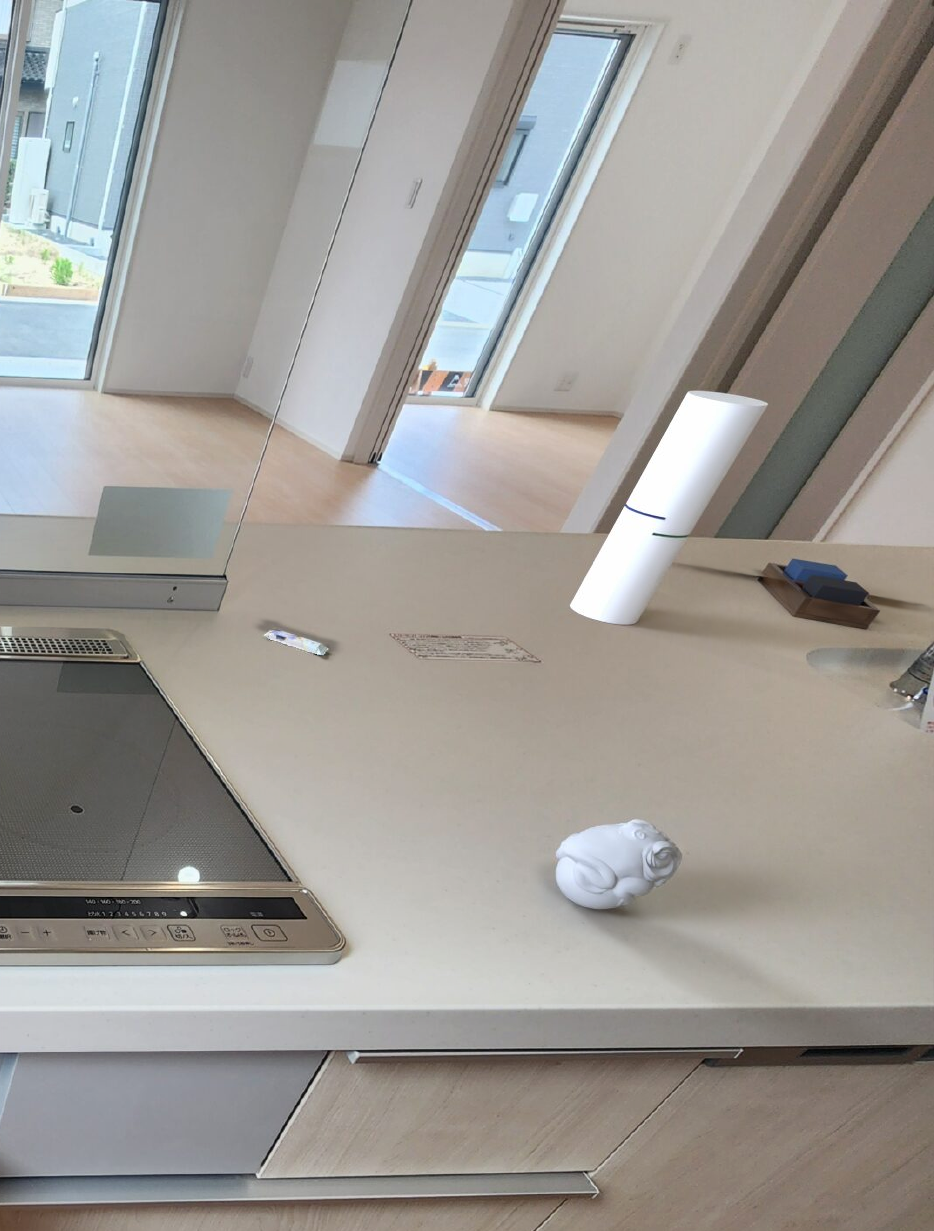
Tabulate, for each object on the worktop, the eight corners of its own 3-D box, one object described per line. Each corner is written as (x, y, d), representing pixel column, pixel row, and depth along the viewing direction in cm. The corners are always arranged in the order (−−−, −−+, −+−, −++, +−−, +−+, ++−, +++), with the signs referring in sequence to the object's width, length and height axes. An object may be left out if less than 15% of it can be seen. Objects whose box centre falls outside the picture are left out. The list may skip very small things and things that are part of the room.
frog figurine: (656, 935, 68) (716, 859, 64) (552, 920, 69) (605, 844, 65) (614, 883, 73) (667, 809, 69) (517, 869, 74) (565, 795, 70)
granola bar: (328, 653, 105) (331, 644, 104) (321, 659, 103) (324, 651, 103) (268, 633, 108) (271, 625, 108) (260, 639, 107) (263, 631, 106)
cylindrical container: (577, 597, 123) (693, 388, 108) (642, 614, 119) (772, 400, 104) (563, 610, 119) (682, 395, 104) (630, 629, 115) (763, 408, 100)
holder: (824, 591, 130) (836, 573, 129) (866, 629, 119) (880, 610, 118) (757, 579, 132) (768, 562, 131) (792, 616, 122) (805, 597, 120)
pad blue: (818, 589, 129) (836, 565, 127) (830, 600, 126) (848, 575, 124) (775, 582, 130) (792, 558, 128) (786, 592, 127) (803, 567, 125)
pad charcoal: (838, 607, 124) (856, 582, 122) (850, 618, 121) (869, 593, 119) (793, 599, 125) (810, 574, 123) (804, 610, 122) (822, 585, 120)
